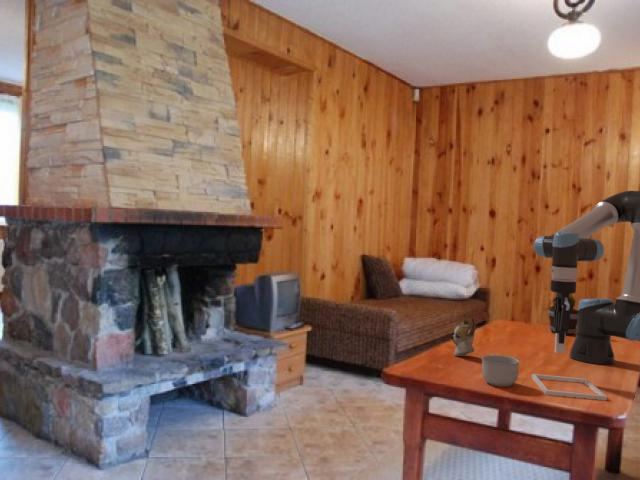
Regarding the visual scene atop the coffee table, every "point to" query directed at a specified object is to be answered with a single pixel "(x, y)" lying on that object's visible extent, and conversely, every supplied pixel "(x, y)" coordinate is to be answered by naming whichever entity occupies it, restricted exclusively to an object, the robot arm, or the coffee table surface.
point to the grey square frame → (568, 394)
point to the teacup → (500, 370)
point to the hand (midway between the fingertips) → (559, 352)
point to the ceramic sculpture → (464, 337)
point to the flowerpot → (573, 318)
